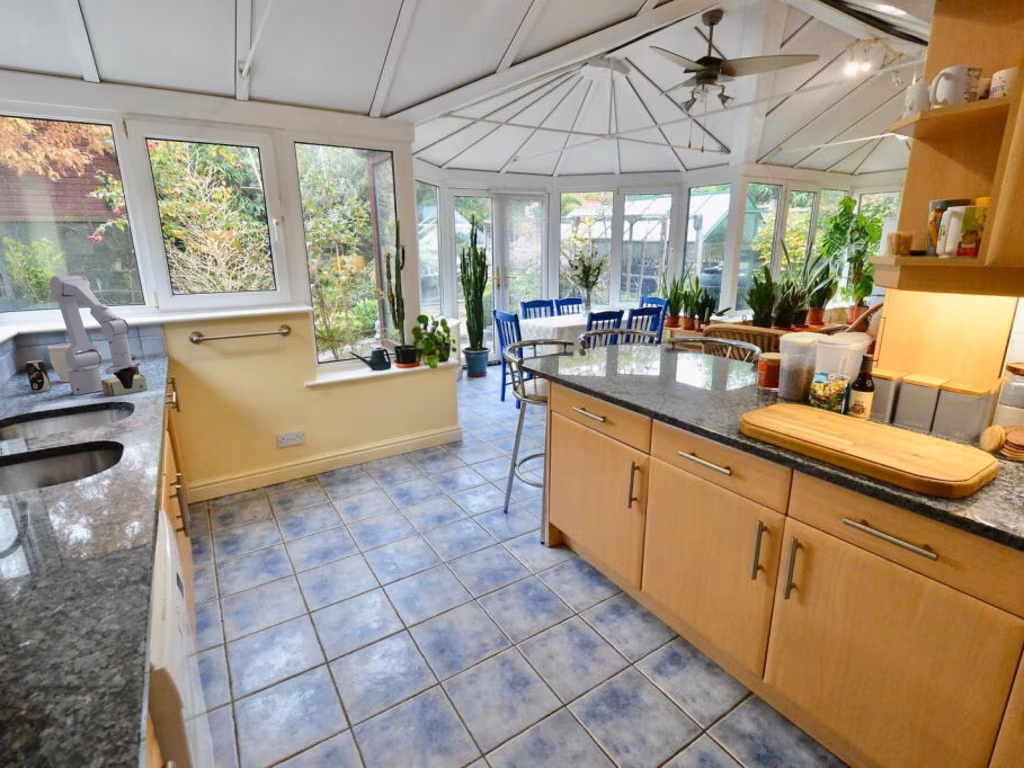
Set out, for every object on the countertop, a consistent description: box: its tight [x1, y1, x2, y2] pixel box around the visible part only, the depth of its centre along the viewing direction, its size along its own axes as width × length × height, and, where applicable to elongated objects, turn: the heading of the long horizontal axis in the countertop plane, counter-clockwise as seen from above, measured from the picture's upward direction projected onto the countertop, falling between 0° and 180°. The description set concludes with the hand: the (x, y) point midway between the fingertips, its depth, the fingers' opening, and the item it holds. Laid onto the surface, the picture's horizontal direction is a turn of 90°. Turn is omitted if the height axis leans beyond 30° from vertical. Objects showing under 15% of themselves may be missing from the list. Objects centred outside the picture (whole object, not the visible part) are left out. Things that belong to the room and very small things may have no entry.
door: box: [107, 376, 149, 397], centre depth 194 cm, size 12×2×5 cm, turn 135°
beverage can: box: [25, 359, 52, 393], centre depth 197 cm, size 6×6×12 cm
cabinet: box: [101, 373, 145, 397], centre depth 197 cm, size 13×6×5 cm, turn 138°
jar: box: [47, 342, 82, 383], centre depth 213 cm, size 11×10×15 cm
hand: (128, 388), depth 190 cm, fingers closed
